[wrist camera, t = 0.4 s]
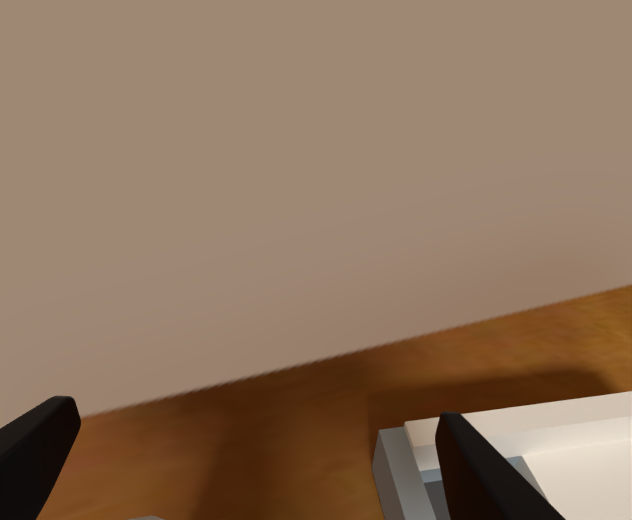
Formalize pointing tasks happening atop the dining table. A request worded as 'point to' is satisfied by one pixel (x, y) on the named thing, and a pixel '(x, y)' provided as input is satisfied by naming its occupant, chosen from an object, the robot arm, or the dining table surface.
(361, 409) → the dining table surface
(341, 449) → the dining table surface
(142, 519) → the salt shaker
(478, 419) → the box
